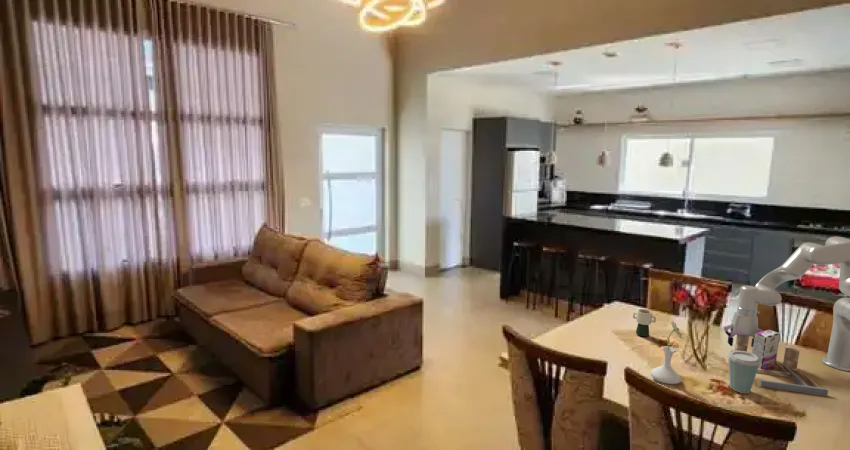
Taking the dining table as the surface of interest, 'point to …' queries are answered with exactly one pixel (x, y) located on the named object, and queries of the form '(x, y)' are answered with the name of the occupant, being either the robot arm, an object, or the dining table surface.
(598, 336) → the dining table surface
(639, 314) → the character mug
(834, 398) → the dining table surface
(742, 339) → the sled
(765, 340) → the candy bar box
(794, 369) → the sled
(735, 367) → the disposable coffee cup
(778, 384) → the lane rails
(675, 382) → the flower in vase
